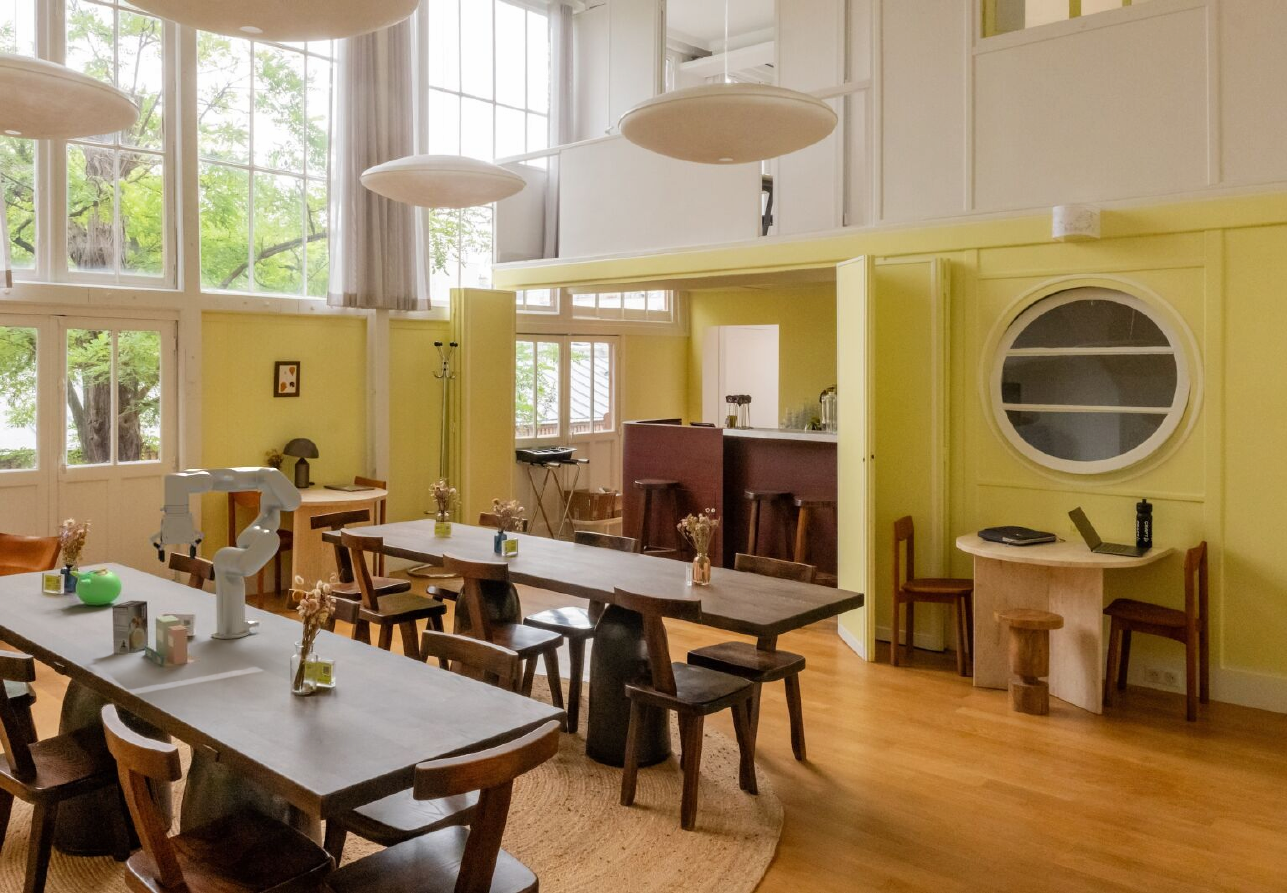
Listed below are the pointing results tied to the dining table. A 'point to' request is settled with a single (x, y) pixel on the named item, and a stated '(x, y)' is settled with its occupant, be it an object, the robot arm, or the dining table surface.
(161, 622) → the sage carton
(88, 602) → the green teapot
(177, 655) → the terracotta carton
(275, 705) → the dining table surface
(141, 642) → the coffee box
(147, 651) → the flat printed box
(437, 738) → the dining table surface
